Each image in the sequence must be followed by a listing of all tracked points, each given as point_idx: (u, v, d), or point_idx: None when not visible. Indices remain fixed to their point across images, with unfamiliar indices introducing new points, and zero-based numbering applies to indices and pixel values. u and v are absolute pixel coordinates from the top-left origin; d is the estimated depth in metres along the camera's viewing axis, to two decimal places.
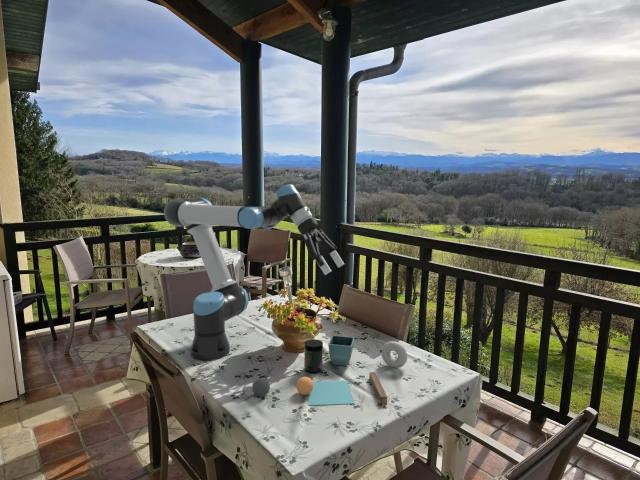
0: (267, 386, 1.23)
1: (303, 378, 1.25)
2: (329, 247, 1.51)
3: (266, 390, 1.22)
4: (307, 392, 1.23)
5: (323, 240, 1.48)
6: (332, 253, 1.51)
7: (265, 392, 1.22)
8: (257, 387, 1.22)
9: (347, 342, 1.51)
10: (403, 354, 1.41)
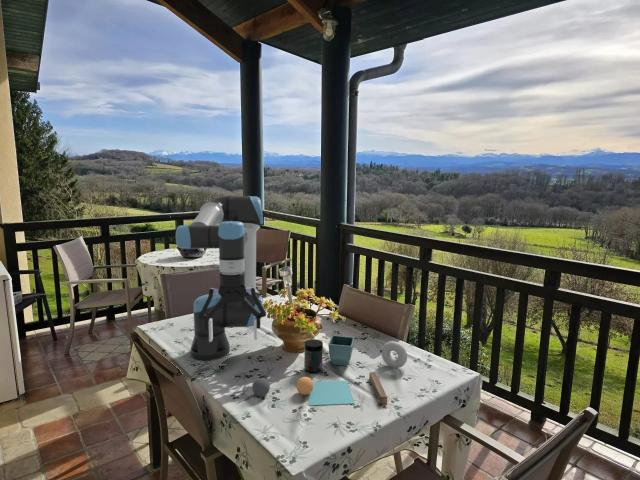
0: (267, 386, 1.23)
1: (303, 378, 1.25)
2: None
3: (266, 390, 1.22)
4: (307, 392, 1.23)
5: None
6: (254, 319, 1.22)
7: (265, 392, 1.22)
8: (257, 387, 1.22)
9: (347, 342, 1.51)
10: (403, 354, 1.41)
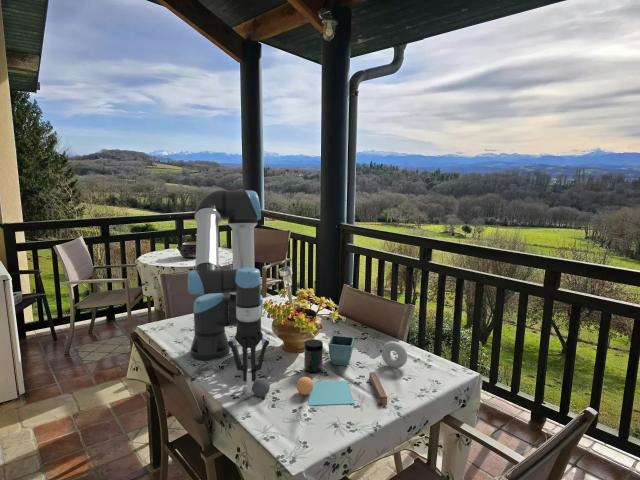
0: (267, 386, 1.23)
1: (303, 378, 1.25)
2: None
3: (266, 390, 1.22)
4: (307, 392, 1.23)
5: (251, 350, 1.21)
6: None
7: (265, 392, 1.22)
8: (257, 387, 1.22)
9: (347, 342, 1.51)
10: (403, 354, 1.41)
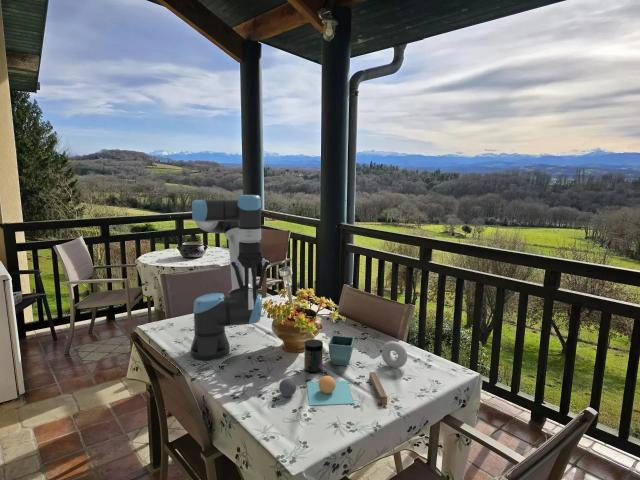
0: (282, 394, 1.23)
1: None
2: None
3: (282, 392, 1.23)
4: (324, 387, 1.24)
5: (252, 270, 1.32)
6: None
7: (282, 391, 1.22)
8: (291, 393, 1.22)
9: (347, 342, 1.51)
10: (403, 354, 1.41)
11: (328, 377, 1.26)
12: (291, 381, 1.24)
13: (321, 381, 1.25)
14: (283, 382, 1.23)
